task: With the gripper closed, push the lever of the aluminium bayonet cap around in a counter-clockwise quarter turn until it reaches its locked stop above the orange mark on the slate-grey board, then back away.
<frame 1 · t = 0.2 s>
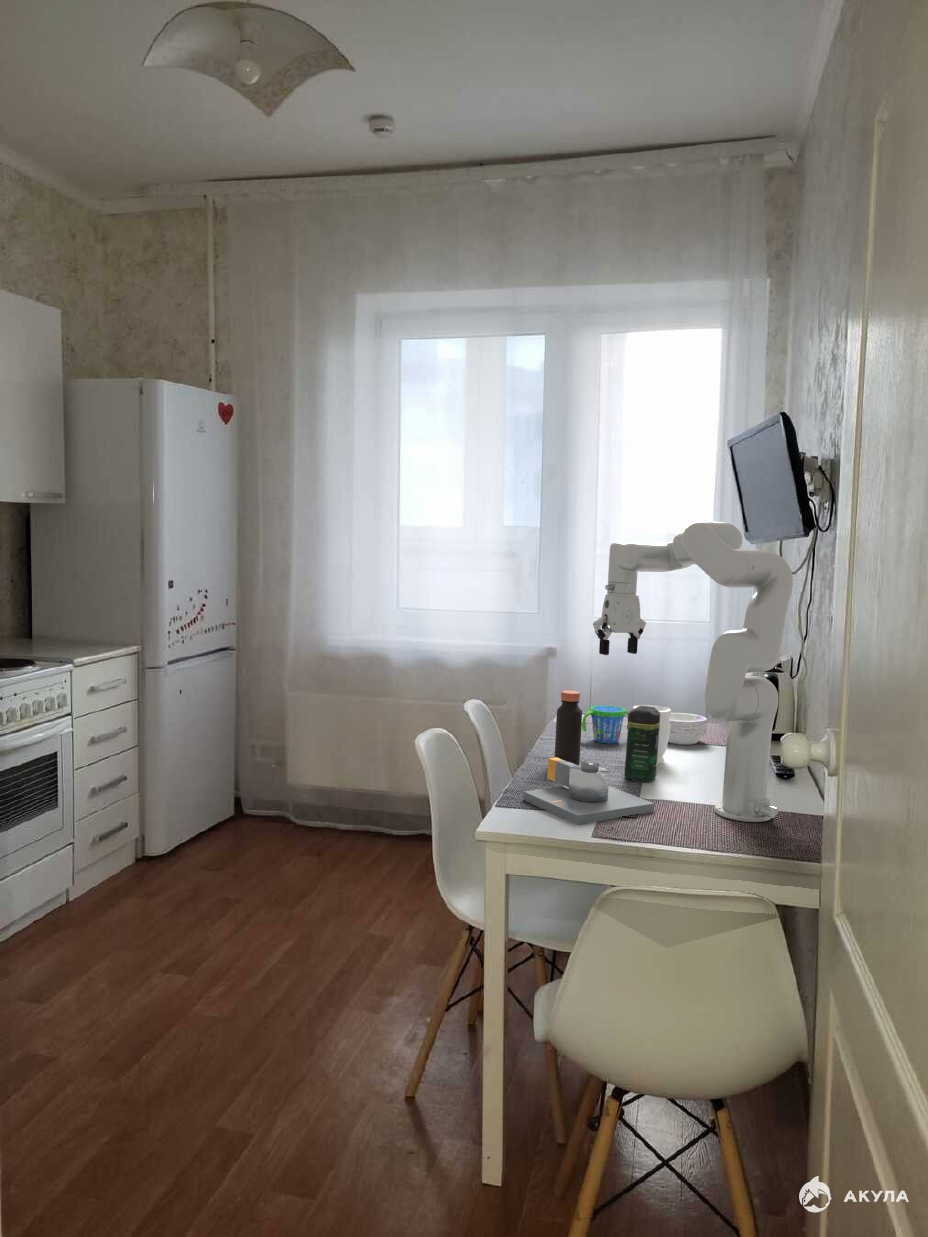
hand: (618, 653, 247), 31 cm above the table, tool pointing down, fingers open, 9 cm apart
white cup: (648, 761, 260), on the table
bottle: (566, 766, 251), on the table
mounting board: (587, 805, 214), on the table
coffee jar: (640, 778, 241), on the table
snack cup: (606, 742, 283), on the table
paper bowls: (680, 742, 287), on the table
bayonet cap: (576, 774, 218), point 6 cm above the table, hinge at 0.0°
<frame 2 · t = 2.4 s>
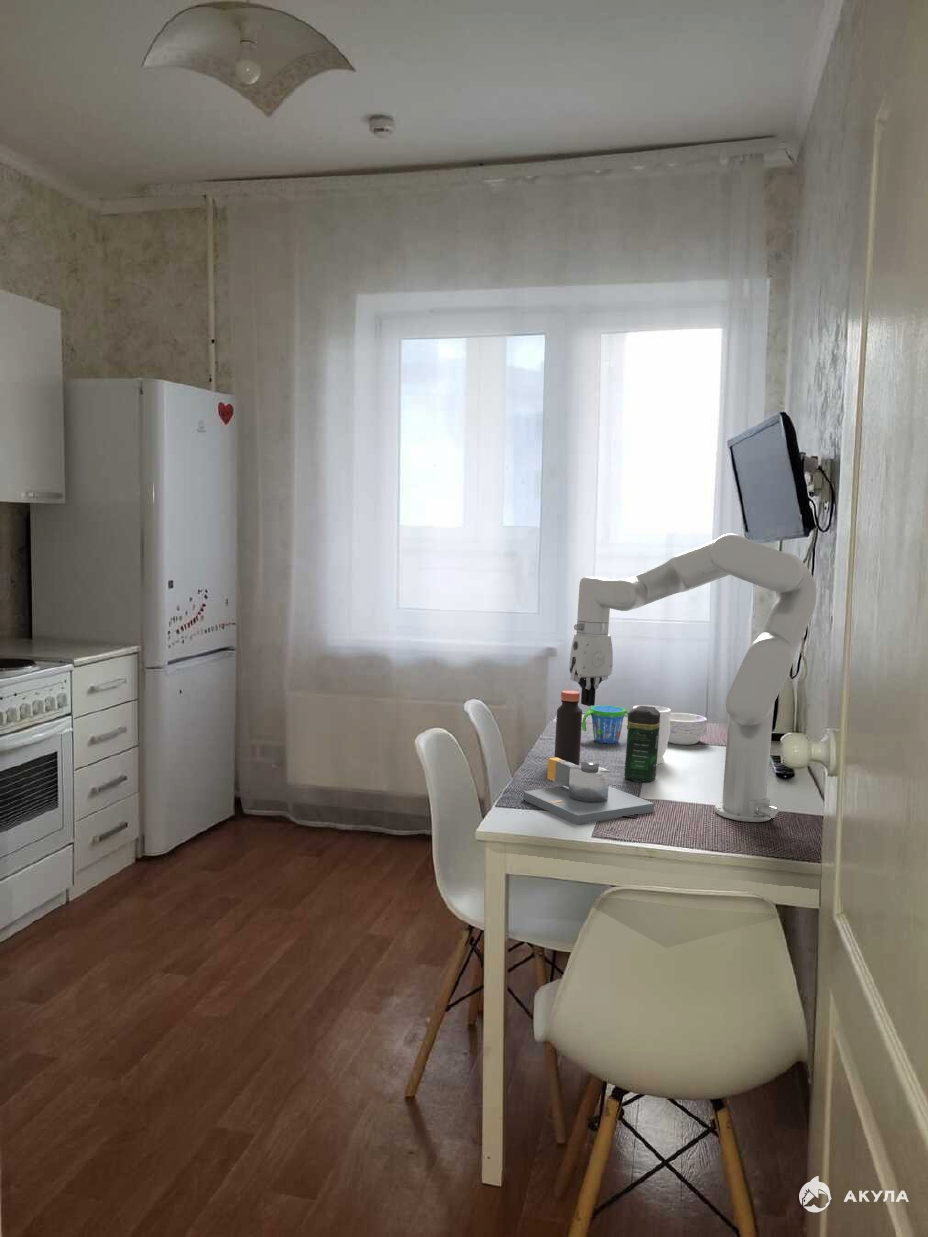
hand: (587, 704, 225), 21 cm above the table, tool pointing down, fingers closed
nothing on the table moved.
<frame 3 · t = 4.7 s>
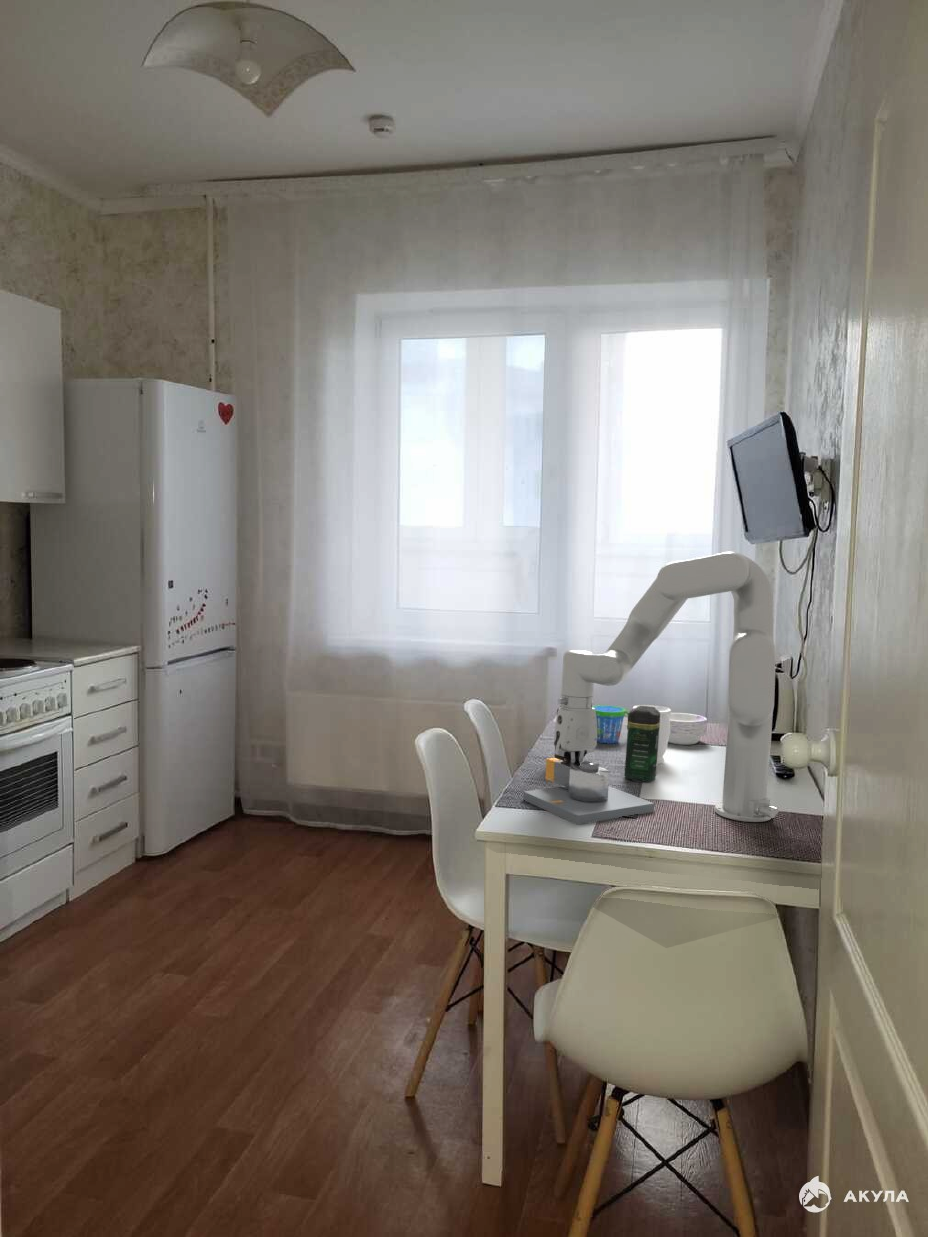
hand: (572, 777, 224), 4 cm above the table, tool pointing down, fingers closed
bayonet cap: (575, 774, 218), point 6 cm above the table, hinge at 2.7°, touching gripper
everything else where it was.
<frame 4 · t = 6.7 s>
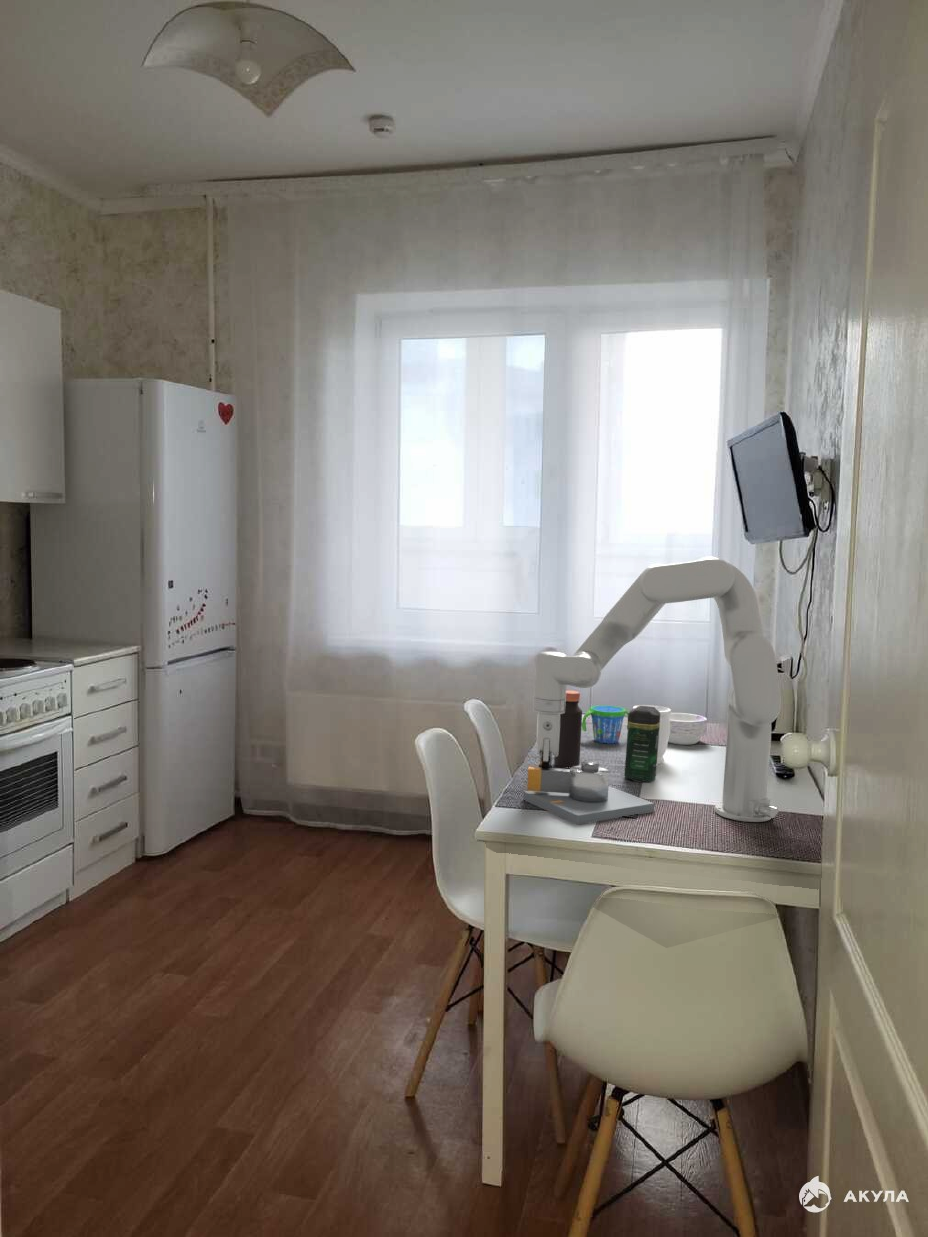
hand: (544, 782, 218), 4 cm above the table, tool pointing down, fingers closed
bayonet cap: (568, 778, 214), point 6 cm above the table, hinge at 53.8°, touching gripper
everything else where it was.
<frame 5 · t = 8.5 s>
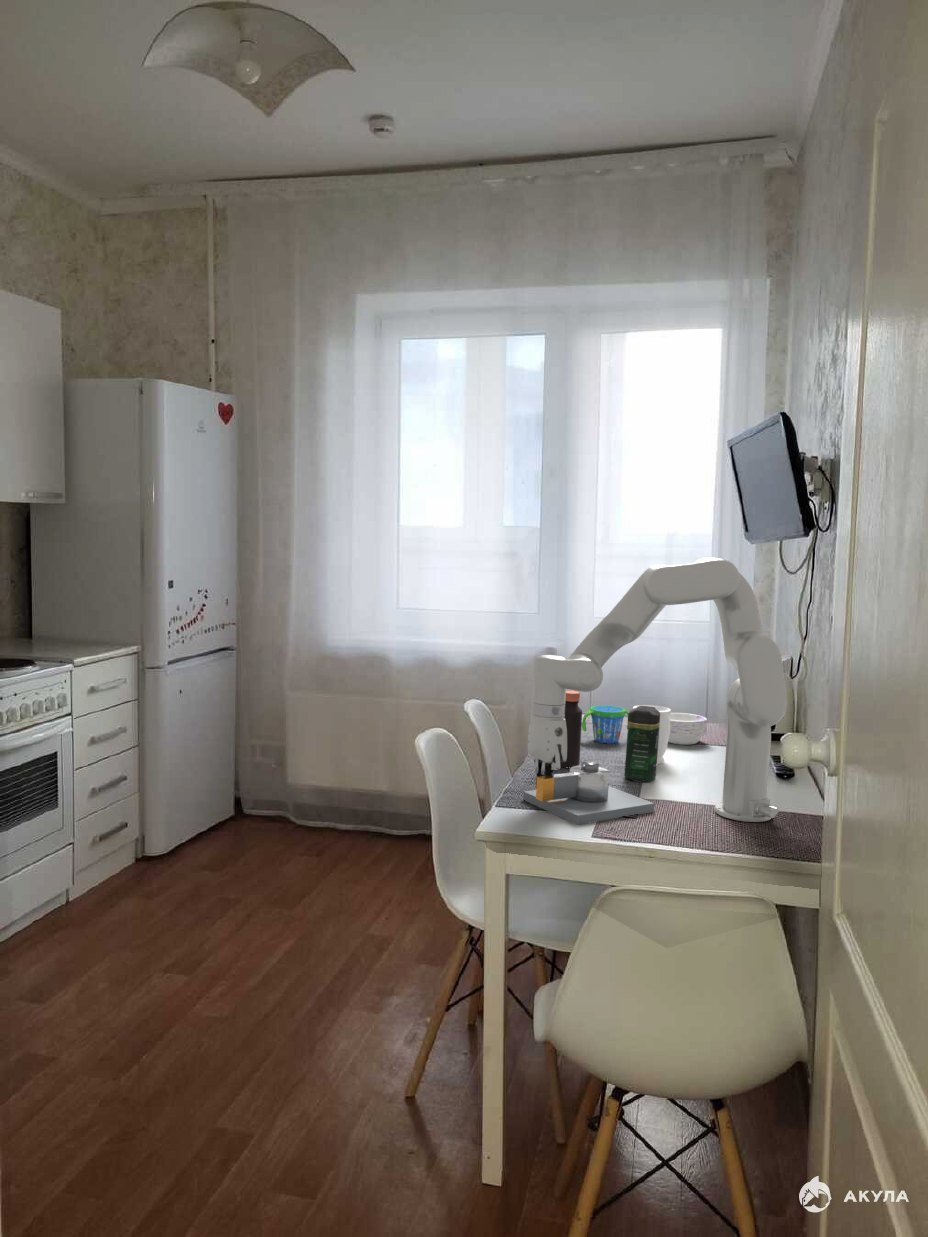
hand: (543, 790, 212), 4 cm above the table, tool pointing down, fingers closed
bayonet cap: (572, 782, 211), point 6 cm above the table, hinge at 90.0°, touching gripper
everything else where it was.
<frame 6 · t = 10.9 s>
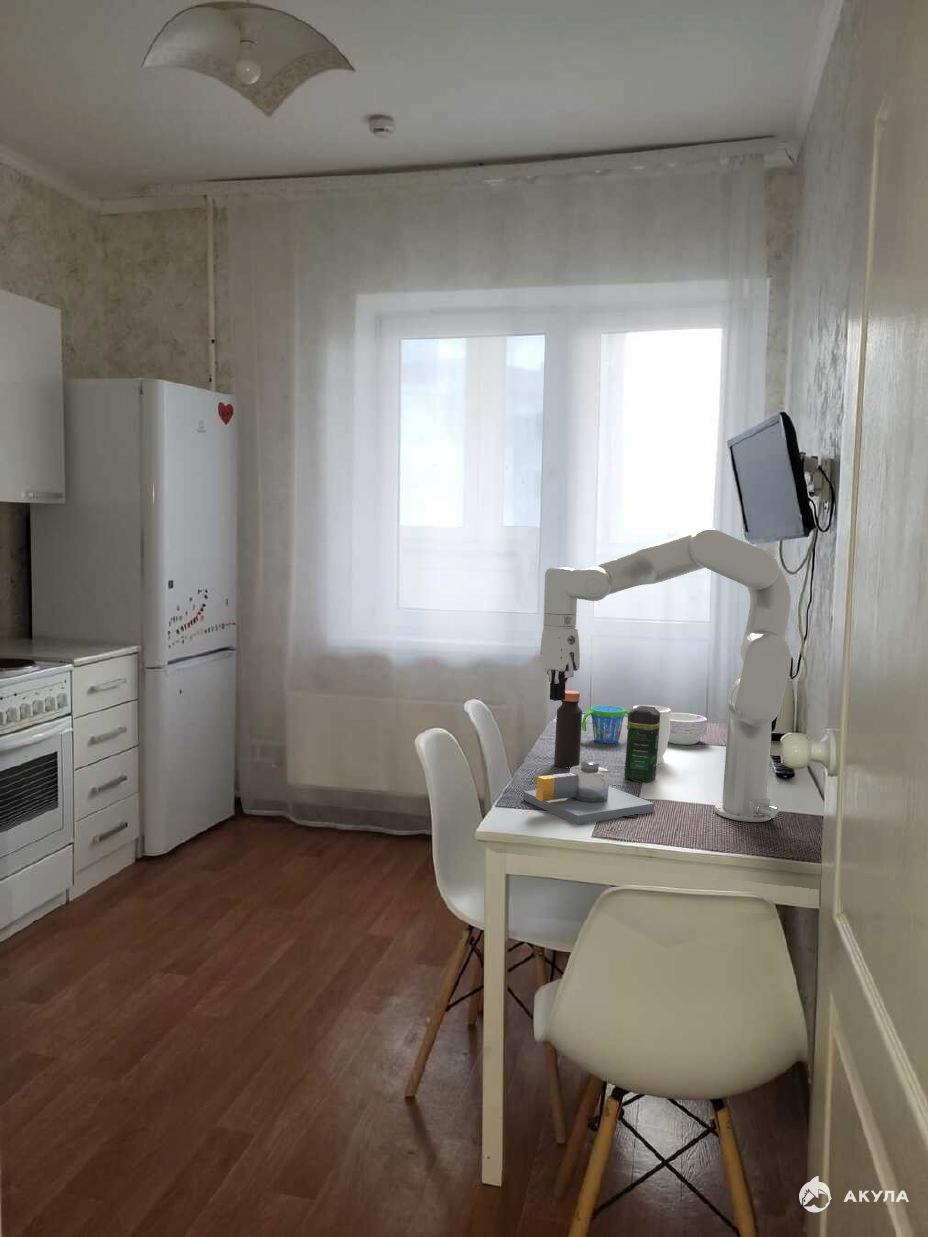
hand: (557, 699, 217), 23 cm above the table, tool pointing down, fingers closed
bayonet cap: (572, 782, 211), point 6 cm above the table, hinge at 90.2°
everything else where it was.
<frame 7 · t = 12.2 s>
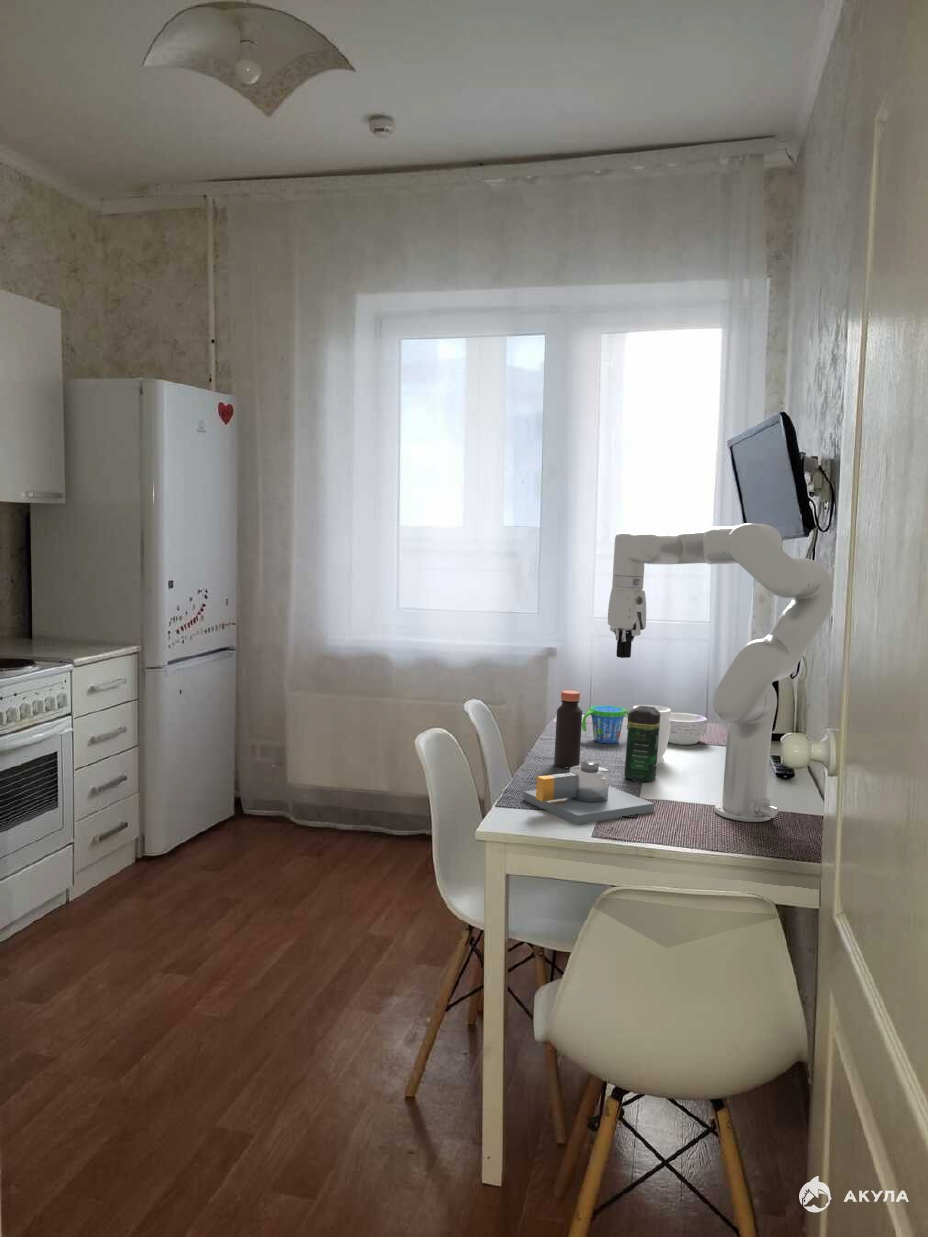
hand: (623, 657, 231), 32 cm above the table, tool pointing down, fingers closed
nothing on the table moved.
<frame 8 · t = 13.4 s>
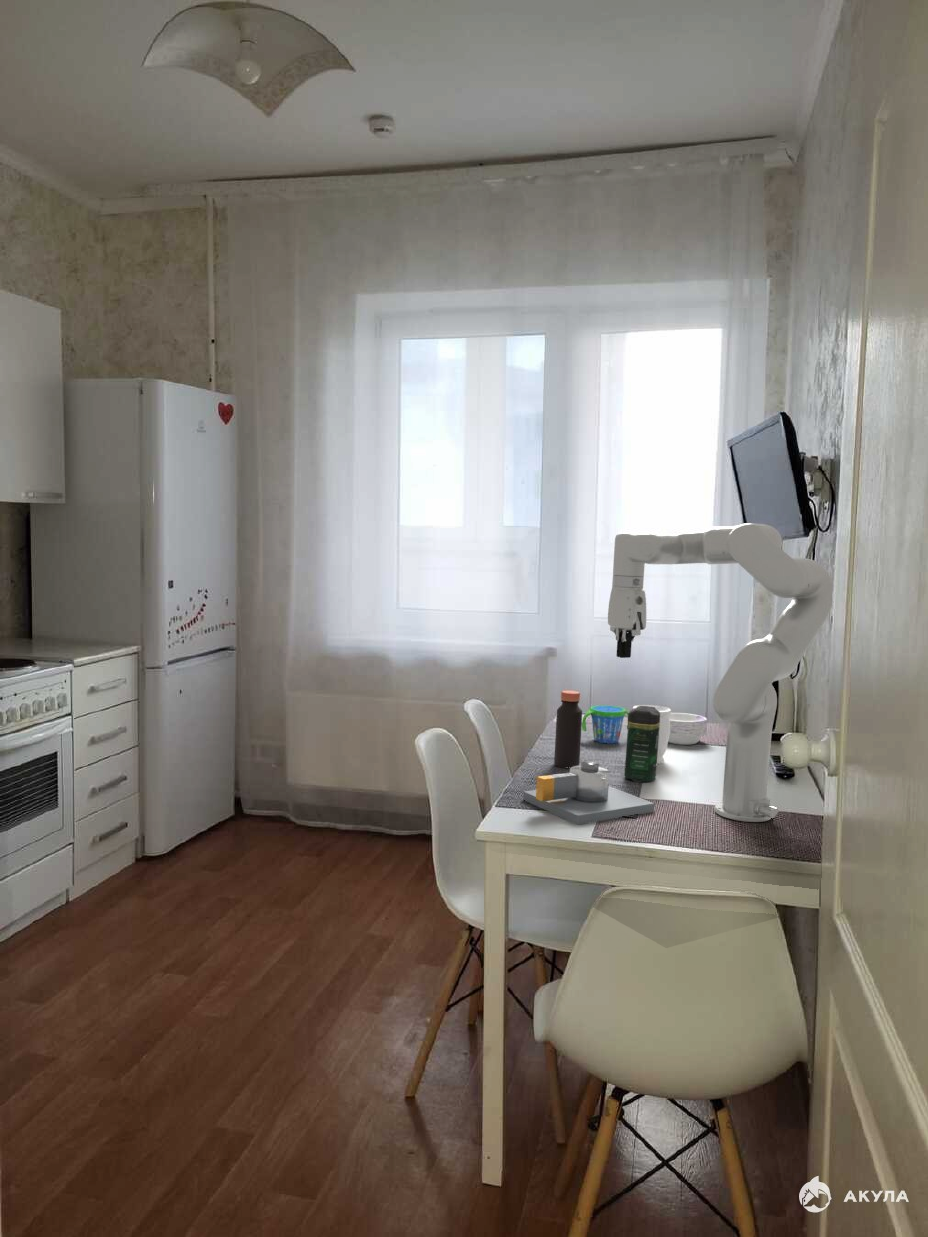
hand: (623, 657, 231), 32 cm above the table, tool pointing down, fingers closed
nothing on the table moved.
at the end: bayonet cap at +90° (first picture: +0°); the gripper is holding nothing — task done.
